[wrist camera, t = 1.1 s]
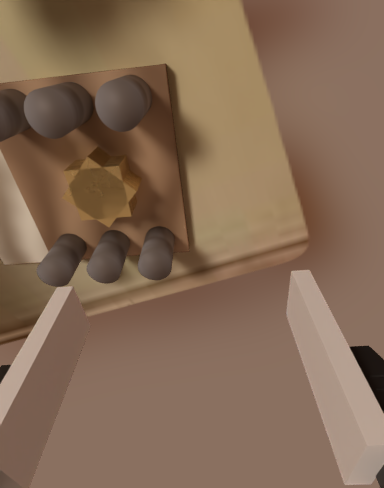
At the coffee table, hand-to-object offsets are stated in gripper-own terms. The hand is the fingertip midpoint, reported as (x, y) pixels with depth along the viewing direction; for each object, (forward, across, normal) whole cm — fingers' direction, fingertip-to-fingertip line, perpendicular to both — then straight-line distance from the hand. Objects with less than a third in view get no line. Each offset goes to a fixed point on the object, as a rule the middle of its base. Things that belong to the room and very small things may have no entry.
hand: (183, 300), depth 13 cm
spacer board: (+18, -12, 0) cm, 21 cm away
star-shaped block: (+17, -8, 0) cm, 18 cm away
